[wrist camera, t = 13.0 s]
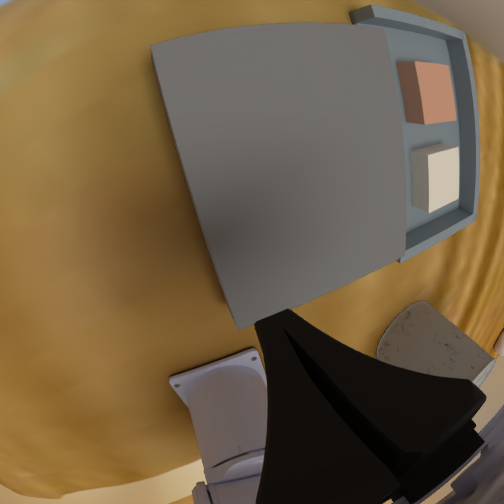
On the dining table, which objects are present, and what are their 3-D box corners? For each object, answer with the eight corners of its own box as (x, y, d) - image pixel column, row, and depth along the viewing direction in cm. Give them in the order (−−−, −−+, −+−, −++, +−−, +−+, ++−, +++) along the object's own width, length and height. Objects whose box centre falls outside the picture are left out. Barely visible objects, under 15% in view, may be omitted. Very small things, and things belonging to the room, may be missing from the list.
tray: (459, 212, 26) (476, 220, 23) (381, 251, 23) (400, 263, 21) (445, 33, 16) (464, 31, 14) (349, 12, 14) (370, 4, 12)
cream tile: (428, 213, 20) (412, 206, 22) (458, 198, 21) (443, 192, 23) (427, 155, 18) (409, 150, 20) (458, 146, 19) (442, 143, 20)
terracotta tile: (424, 124, 17) (406, 122, 18) (456, 120, 18) (439, 117, 19) (414, 61, 14) (395, 62, 16) (448, 65, 15) (431, 65, 17)
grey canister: (422, 342, 34) (476, 394, 24) (371, 373, 32) (426, 438, 22) (436, 289, 30) (506, 343, 19) (381, 320, 28) (456, 395, 17)
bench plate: (381, 241, 23) (405, 255, 20) (227, 304, 21) (238, 330, 18) (356, 35, 15) (383, 28, 12) (151, 59, 12) (150, 45, 10)
